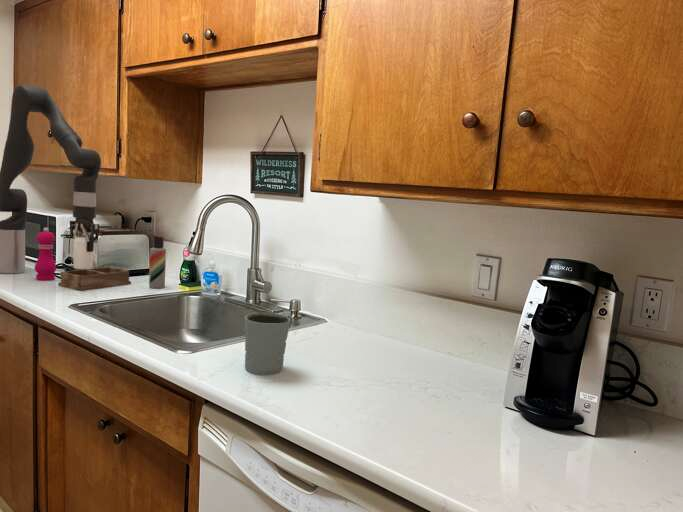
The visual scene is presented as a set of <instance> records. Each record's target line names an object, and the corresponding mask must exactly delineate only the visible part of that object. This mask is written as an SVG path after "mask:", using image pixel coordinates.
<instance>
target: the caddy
mask: <svg viewBox="0 0 683 512" xmlns="http://www.w3.org/2000/svg"><path fill="white" fill-rule="evenodd" d="M57 284H58V286H59V287H62V288H66V289H70V290H73V291H74V290H75V291H78V292H85V291H91V290H92V291H93V290H99V289H106V288H114V287H115V288H116V287H121V286H127V285H129V286H130V285H131V284H132V281H131V280H130V270H128V269H122V268H118V267H111V266H104V267H96V268H95V267H93V268H92V269H89V270H78V269H74V270H67V271H66V270H64V271H60V281H59V282H58V283H57Z"/></svg>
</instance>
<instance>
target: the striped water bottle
mask: <svg viewBox="0 0 683 512" xmlns="http://www.w3.org/2000/svg"><path fill="white" fill-rule="evenodd" d="M164 242H165V237H164V236H163V237H162V236H159V235H154V236H153V237H152V247H151V248H150V249H149V277H148V278H149V281H148V286H149V289H156V290H157V289H164V288H165V286H166V263H167V262H166V260H167V249H166V248H165V247H164V245H165V243H164Z"/></svg>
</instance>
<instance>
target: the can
mask: <svg viewBox="0 0 683 512" xmlns="http://www.w3.org/2000/svg"><path fill="white" fill-rule="evenodd" d="M89 237H90V236H89ZM87 242H88V241H87V239H86V236H84V234H83V235H79V234H78V235H77V236H76V237H75V239H73V268H74V270H89V269H93V268H94V253H95V252H94V251H95V250H94V249H95V248H94V249H93V252H87Z"/></svg>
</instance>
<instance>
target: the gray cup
mask: <svg viewBox="0 0 683 512" xmlns="http://www.w3.org/2000/svg"><path fill="white" fill-rule="evenodd" d="M290 323H291V318H290V317H288V316H285V315H283V314H279V313H271V312H256V313H255V312H253V313H249V314H246V315H245V316H244V336H245V341H244V346H245V347H244V348H245V349H244V351H245V355H244V369H245V371H246V372H248V373H249V374H253V375H259V376H272V375H276V374H279V373H280V372H282V370H283V368H284V367H283V366H284V358H285V353H286V346H287V342H286V341H287V340H288V339H287V338H288V334H289V328H290Z"/></svg>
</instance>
